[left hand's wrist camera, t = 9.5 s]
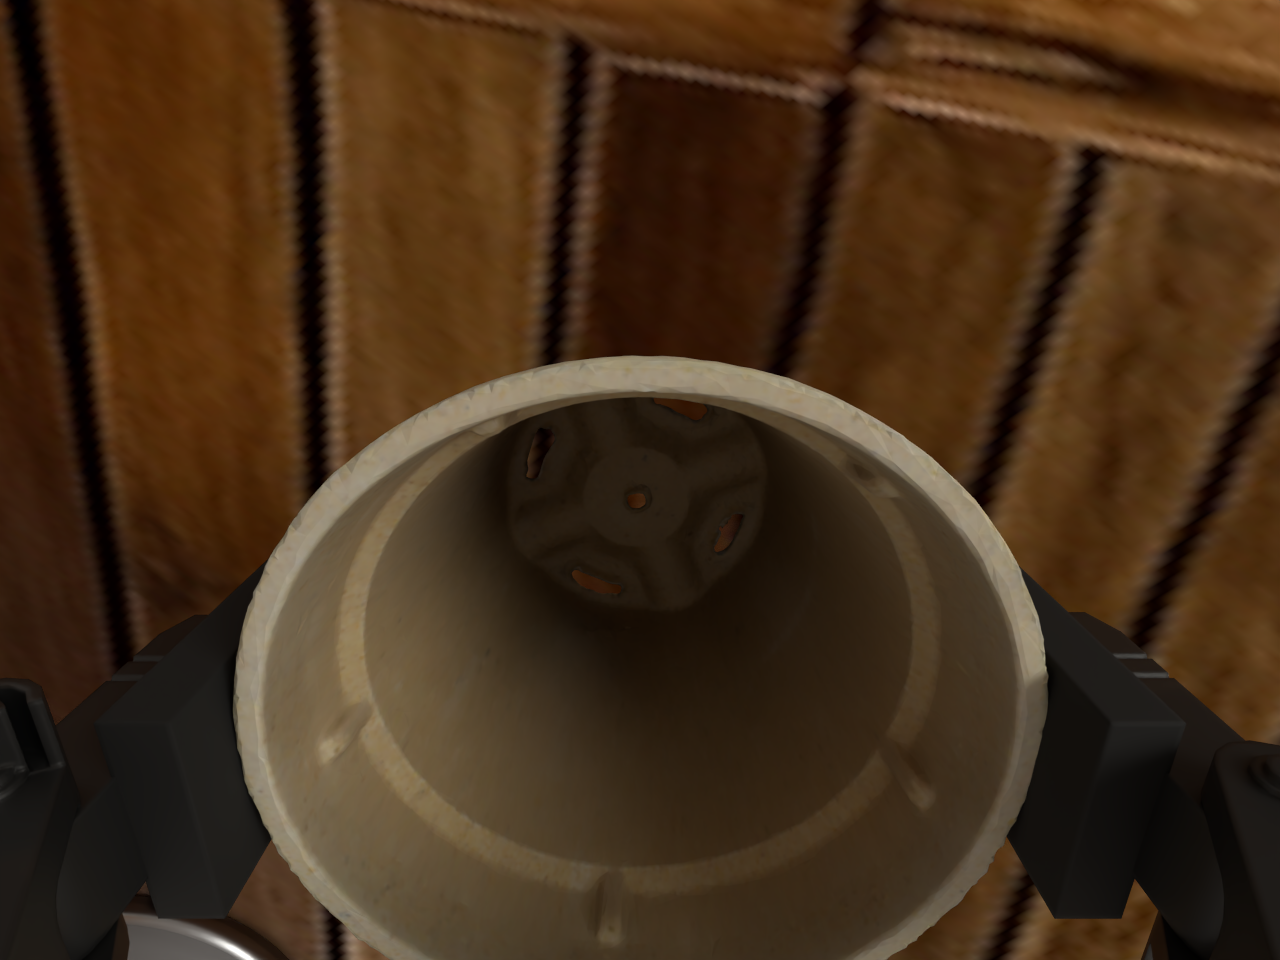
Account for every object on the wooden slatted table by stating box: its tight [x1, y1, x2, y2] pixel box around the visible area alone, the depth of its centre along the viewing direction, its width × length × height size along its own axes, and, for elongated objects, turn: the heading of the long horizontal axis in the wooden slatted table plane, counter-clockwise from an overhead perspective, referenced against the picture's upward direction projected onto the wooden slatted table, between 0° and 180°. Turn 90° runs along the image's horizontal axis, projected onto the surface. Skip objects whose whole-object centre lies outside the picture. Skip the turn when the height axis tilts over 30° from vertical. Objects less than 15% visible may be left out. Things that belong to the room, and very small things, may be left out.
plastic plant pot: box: [233, 356, 1048, 960], centre depth 12 cm, size 9×9×9 cm
